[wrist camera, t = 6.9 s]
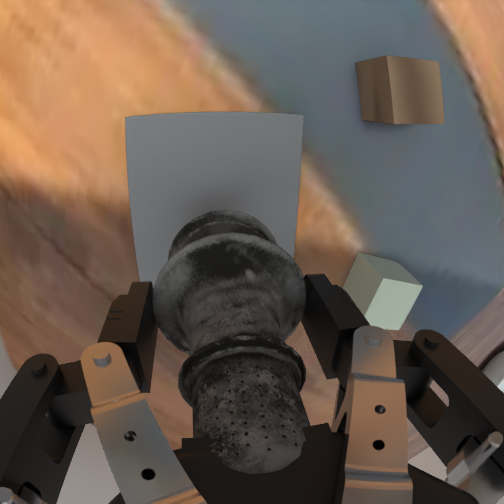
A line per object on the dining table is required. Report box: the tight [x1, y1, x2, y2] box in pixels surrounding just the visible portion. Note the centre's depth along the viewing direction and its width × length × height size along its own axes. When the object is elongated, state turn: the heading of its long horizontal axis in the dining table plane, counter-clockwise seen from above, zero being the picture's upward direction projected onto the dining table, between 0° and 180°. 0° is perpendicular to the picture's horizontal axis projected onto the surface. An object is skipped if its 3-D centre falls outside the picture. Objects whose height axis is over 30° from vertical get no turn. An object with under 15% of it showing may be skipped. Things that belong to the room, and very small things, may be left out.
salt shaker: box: [152, 210, 310, 474], centre depth 9 cm, size 6×6×12 cm
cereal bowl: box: [482, 351, 504, 393], centre depth 42 cm, size 17×17×7 cm
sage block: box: [343, 252, 423, 330], centre depth 28 cm, size 5×5×5 cm
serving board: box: [125, 112, 304, 288], centre depth 24 cm, size 13×14×1 cm
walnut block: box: [355, 56, 444, 124], centre depth 20 cm, size 5×5×5 cm
